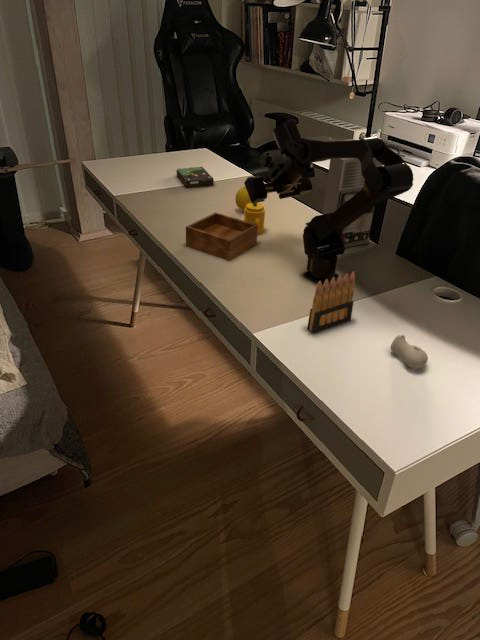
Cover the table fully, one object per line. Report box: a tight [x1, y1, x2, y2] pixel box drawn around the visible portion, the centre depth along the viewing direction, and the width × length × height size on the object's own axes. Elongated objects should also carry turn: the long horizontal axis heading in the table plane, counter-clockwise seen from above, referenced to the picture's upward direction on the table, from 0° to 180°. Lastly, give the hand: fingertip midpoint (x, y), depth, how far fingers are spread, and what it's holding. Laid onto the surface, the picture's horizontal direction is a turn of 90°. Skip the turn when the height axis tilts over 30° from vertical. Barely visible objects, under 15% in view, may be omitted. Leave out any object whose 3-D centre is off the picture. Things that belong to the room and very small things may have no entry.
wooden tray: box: [185, 212, 258, 261], centre depth 139 cm, size 15×14×6 cm
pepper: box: [243, 202, 266, 235], centre depth 147 cm, size 6×6×9 cm
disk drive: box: [175, 166, 215, 188], centre depth 185 cm, size 10×3×15 cm
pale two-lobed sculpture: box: [390, 334, 429, 370], centre depth 98 cm, size 4×8×5 cm
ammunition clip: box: [306, 270, 356, 334], centre depth 105 cm, size 11×2×12 cm, turn 121°
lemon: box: [235, 186, 251, 212], centre depth 160 cm, size 6×6×8 cm
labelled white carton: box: [322, 158, 384, 248], centre depth 137 cm, size 14×6×25 cm, turn 117°
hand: (265, 199), depth 139 cm, fingers open, 9 cm apart
